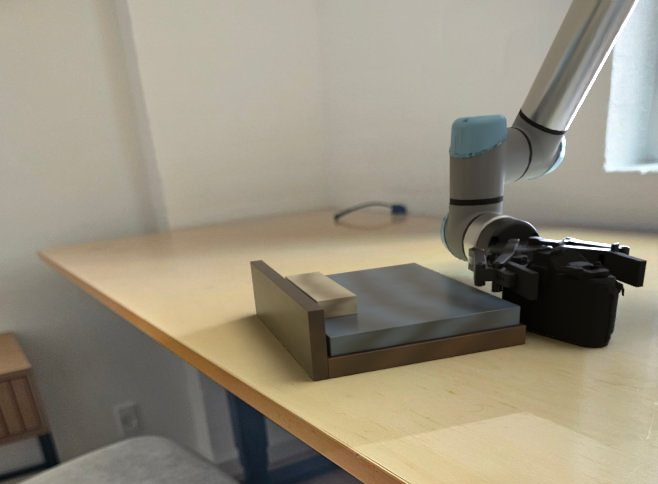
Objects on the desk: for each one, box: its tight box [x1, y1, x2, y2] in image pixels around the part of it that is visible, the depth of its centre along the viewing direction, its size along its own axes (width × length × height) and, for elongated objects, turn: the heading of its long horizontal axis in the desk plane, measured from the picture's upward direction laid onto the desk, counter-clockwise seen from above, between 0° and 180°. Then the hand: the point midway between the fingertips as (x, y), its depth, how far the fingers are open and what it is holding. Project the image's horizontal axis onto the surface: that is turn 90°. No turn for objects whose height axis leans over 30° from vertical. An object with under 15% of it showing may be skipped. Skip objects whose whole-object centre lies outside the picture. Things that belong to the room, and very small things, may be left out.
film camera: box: [501, 246, 625, 348], centre depth 72 cm, size 15×10×9 cm, turn 29°
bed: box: [249, 259, 527, 382], centre depth 78 cm, size 24×28×7 cm
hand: (588, 280), depth 68 cm, fingers open, 11 cm apart
